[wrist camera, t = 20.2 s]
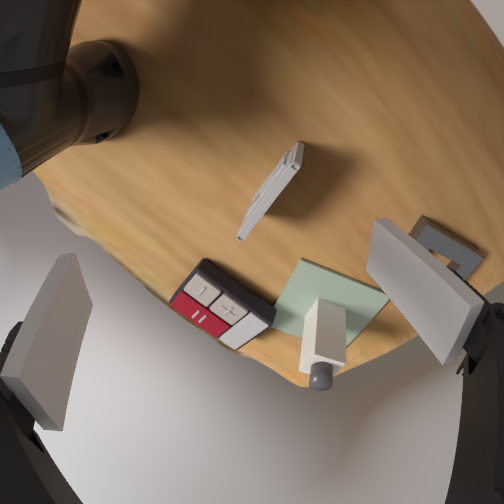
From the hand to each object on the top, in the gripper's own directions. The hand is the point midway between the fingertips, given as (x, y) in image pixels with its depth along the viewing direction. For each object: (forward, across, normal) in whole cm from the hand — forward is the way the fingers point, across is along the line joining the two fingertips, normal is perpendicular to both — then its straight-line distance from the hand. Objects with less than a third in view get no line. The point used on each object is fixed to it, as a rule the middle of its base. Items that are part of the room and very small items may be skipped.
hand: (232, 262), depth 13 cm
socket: (+19, +31, -16) cm, 40 cm away
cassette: (+27, +9, -5) cm, 29 cm away
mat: (+26, +18, -27) cm, 41 cm away
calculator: (+32, +2, -27) cm, 42 cm away
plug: (+25, +17, -27) cm, 41 cm away
